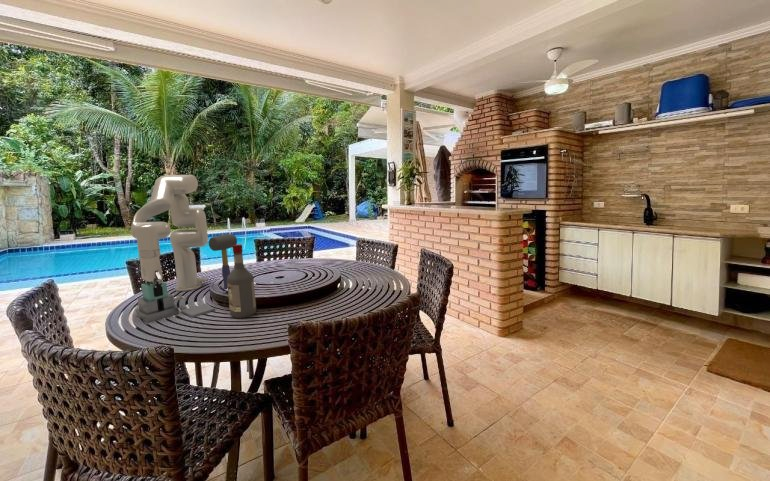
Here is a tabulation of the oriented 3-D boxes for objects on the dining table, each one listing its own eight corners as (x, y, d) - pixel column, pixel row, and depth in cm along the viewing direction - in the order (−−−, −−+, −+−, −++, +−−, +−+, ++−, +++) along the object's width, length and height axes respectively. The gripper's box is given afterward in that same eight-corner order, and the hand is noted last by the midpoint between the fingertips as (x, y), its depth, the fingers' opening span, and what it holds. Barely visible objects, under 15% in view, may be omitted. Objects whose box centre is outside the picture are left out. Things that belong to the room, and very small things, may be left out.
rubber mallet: (223, 297, 174) (217, 237, 169) (212, 295, 177) (206, 236, 172) (242, 289, 185) (237, 233, 180) (232, 288, 188) (227, 232, 183)
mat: (204, 306, 162) (204, 304, 162) (215, 310, 156) (215, 308, 156) (181, 312, 154) (181, 310, 154) (192, 317, 148) (191, 315, 148)
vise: (178, 304, 164) (174, 275, 162) (190, 310, 157) (186, 279, 154) (136, 316, 151) (132, 284, 149) (147, 322, 144) (143, 289, 141)
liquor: (249, 308, 158) (243, 242, 153) (258, 313, 151) (252, 244, 146) (228, 314, 151) (221, 245, 146) (237, 319, 145) (230, 248, 140)
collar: (161, 293, 156) (159, 280, 155) (167, 296, 151) (166, 282, 150) (143, 297, 150) (141, 284, 149) (149, 300, 146) (147, 286, 145)
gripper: (131, 252, 150) (137, 293, 153) (147, 257, 139) (153, 300, 142) (151, 249, 156) (156, 288, 159) (168, 254, 145) (173, 295, 148)
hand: (155, 294), depth 150 cm, fingers closed on collar, 7 cm apart
